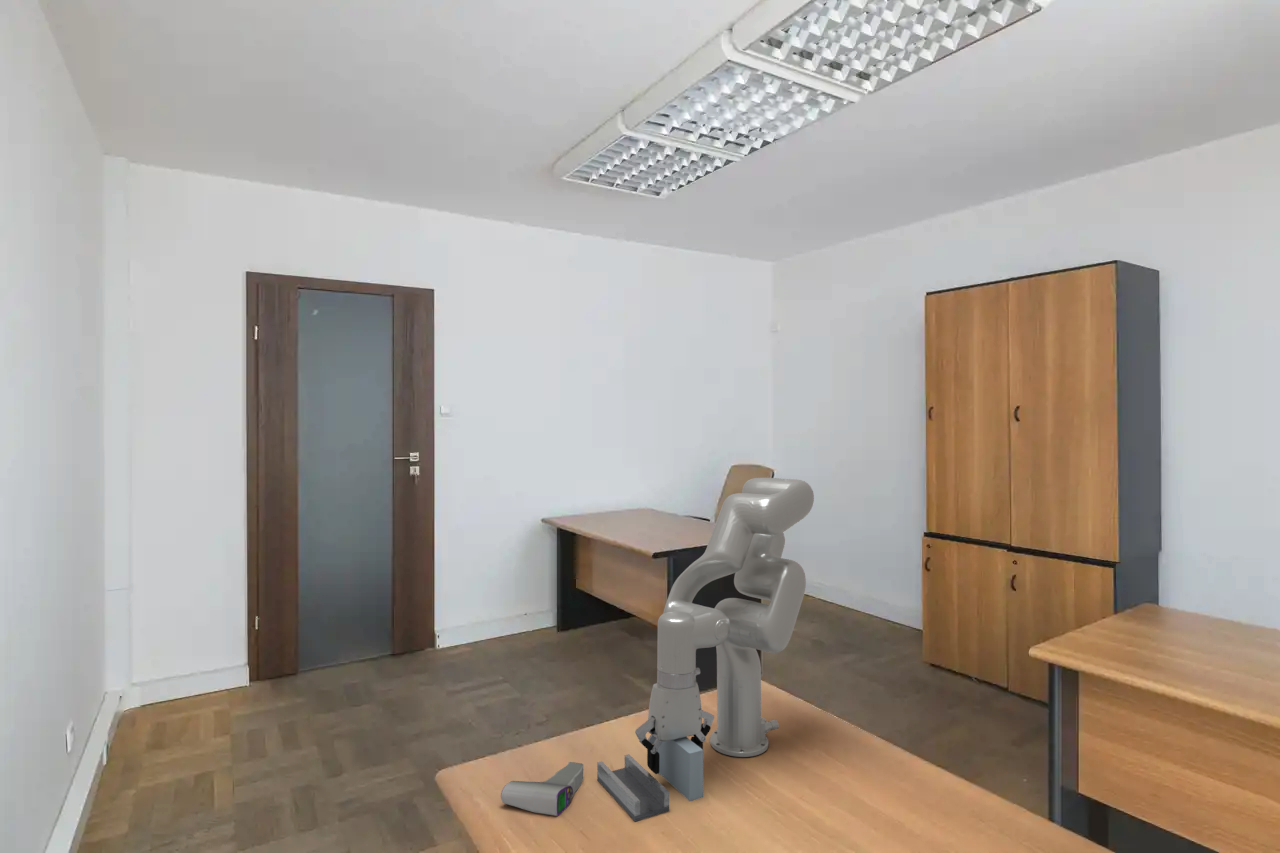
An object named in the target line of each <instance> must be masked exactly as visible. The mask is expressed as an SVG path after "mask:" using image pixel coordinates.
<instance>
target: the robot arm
mask: <svg viewBox="0 0 1280 853" xmlns="http://www.w3.org/2000/svg"><path fill="white" fill-rule="evenodd" d="M741 490H742V491H741V492H736V493H732V494H730V495H728V496H727V497H726V498H725V499H724V501H723V503H722V505H721V509H719V510H720V511H719V514H718V516H717V519H716V522H715V525H714V527H713V529H712V532H711V535H710V538H709V541H708V542H707V546H706V549H705V551H704V553H703V554H702V555H701V556H700V557H699V558H697V559H696V560H695V561H693V562H691V564H690V565H689V566H688V567H686V568H685V569H684V571H683V572H682V573H680V575H679V576H678V577H677V578H676V579H675V581H674V583H673V585H672V586H671V589H670V592H669V594H668V596H667V600H666V602H665V606H664V609H663V613H662V614H661V615H660V616H659V617H658V620H657V643H656V644H657V650H656V651H657V656H656V657H657V659H656V660H657V662H656V663H657V664H656V666H657V667H656V668H657V669H656V670H657V671H656V677H657V678H656V682H655V683H653V685H652V688H651V692H650V698H649V704H648V705H649V706H648V714H647V716H648V717H647V720H646V721H645V722H643V723H642V724H641V725H640V726H638V727H637V728H636V729H635V735H636V737H637V739H638V741H639V743H640V744H641V745H642V746H644V748H646V751H647V752H646V753H647V754H646V757H647V758H646V759H647V760H646V761H647V762H646V765H647V767H648V769H649V770H650V771H651V772H652V773H654V775H660V774H659V758H660V755H659V753H658V752H657V750H658V749H659V747H660V746H661V744H662V742H665V741H670V740H675V739H679V738H683V737H687V738H688V737H690V736H691V738H690V740H691V741H692V742H694V743H695V744H696V745H697V746H699V747H700V748H701V749H703V750H704V742H706V739H707V738H706V737H707V735H708V734H709V732H710V731H711V726H712V725H713V722H714V720H715V715H713V714H712V713H710V712H708V711H705V710H702V700H701V693H700V689H699V688H700V687H699V685H698V684H699V683H698V682H697V678H696V677H697V676H699V675H701V669H700V667H697V665H696V663H697V661H696V660H697V659H696V658H697V655H696V654H697V650H698V649H705V648H714V647H715V648H716V710H717V711H716V724H717V725H716V726H717V727H716V729H715V730H714V731H713V732H712V733H711V734H710V737H709V743H710V745H711V747H712V748H713V749H714V750H715V751H717V752H719V753H720V754H723V755H726V756H731V757H737V758H749V757H755V756H758V755H761V754H763V753H765V751H767V750H768V748H769V738H768V736H766V734H767V733H768V732H770V731H774V730H778V729H779V726H780V723H779V722H778V720H777V719H772V720H768V721H767V719H766V717H762V665H761V660H760V656H759V653H758V651H757V650H759V651H763V652H765V653H769V654H770V653H772V654H777V653H781V652H782V651H784V650H785V649H786V648H787V647H788V646H789V642H790V640H791V638H792V635H793V632H794V628H795V625H796V622H797V619H798V616H799V613H800V609H801V606H802V603H803V600H804V596H805V592H806V584H807V581H806V580H807V579H806V573H805V571H804V570H805V569H804V568H803V567H802V566H801V564H800V563H798V561H796V560H792V559H789V558H782V554H783V552H784V549H785V545H786V538H785V534H784V532H786V531H787V530H789V529H790V528H791V527H793V526H794V525H796V524H797V523H799V522H800V521H802V520H803V519H804V518H805V517H806V516H808V515H809V513H811V510H812V508H813V506H814V502H815V495H814V491H813V488H812V486H811V485H810V484H809V483H808V482H807V481H805V480H802V479H797V478H796V479H794V478H793V479H791V478H778V477H754V478H751V479H748V480H747V481H746V482H744V484H743V487H742V489H741ZM732 574H733V575H734V578H733V584H734V587H735V589H736V590H737V591H738V592H739V593H740V594H742V595H745V596H747V597H751V598H756V599H761V600H764V601H769V604H767V603H766V604H765V603H761V602H757V601H754V600H747V599H743V598H737V597H727V598H724V599H722V600H720V601H719V602H718V603H717V604H716V605H715V607H714V608H713V607H709V606H704V605H700V604H697V603H694V602H693V600H695V599H694V598H695V597H696V596H697V594H698V592H699V591H700V590H701V589H702V588H704V587H705V586H706V585H708V584H709V583H711V582H713V581H716V580H718V579H721V578H724V577H727V576H729V575H732ZM702 722H703V723H702ZM647 733H648V734H650V736H649V737H648V738H647V735H646V734H647ZM656 738H657V739H656ZM655 740H656V741H655ZM653 743H654V744H653Z"/></svg>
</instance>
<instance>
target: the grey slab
mask: <svg viewBox="0 0 1280 853" xmlns="http://www.w3.org/2000/svg"><path fill="white" fill-rule="evenodd" d="M656 739H657V738H656ZM655 741H656V740H655ZM653 744H654V743H653ZM657 752H658V753H659V755H660V758H659V774H658V775H660V776H661V777H662V778H664V780H665V781H667V782H668V783H669V784H670V785H671V786H672V787H673V788H674V789H675V790H677V791H678V792H679V793H680V794H681V795H682V796H684V797H685V799H686V800H688V802H692V801H696V800H698V799H699V800H700V799H702V798H704V748H703V749H701V748H700V747H699V746H697V745H696V744H695V743H694V742H692V741H691V738H688V736H687V737H683V738H679V739H675V740H670V741H665V742H662V744H661V746H660V747H659V749H658V750H657Z"/></svg>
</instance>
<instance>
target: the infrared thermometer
mask: <svg viewBox="0 0 1280 853" xmlns="http://www.w3.org/2000/svg"><path fill="white" fill-rule="evenodd" d="M583 780H584V764H583V763H581V762H574V761H569V762H567V764H566V765H565V766H564V767H563V768H561V769H560V770H558V771H557V772H555V773H554V774H553V775H552V776H550V777H549V778H548V779H546V780H545V781H525V780H524V781H523V780H522V781H521V780H520V781H519V780H511V781H508V783H506V784H505V785H504V787H503V788H502V790H501V793H500V799H501V802H502V803H503V804H505V805H508V806H510V807H511V806H512V807H515V808H518V809H522V810H524V811H528V812H532V813H534V814H541V815H546V816H547V815H548V816H553V817H554V816H555V817H558V816H560V815H562V813H563V812H564V811H565V810H566V809H567V808H568V807H569V805H570V804H571V802H572V798H574V794H575V793H576V791H577V790H579V788H580V787H581V785H582V783H583Z"/></svg>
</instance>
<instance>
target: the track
mask: <svg viewBox="0 0 1280 853" xmlns="http://www.w3.org/2000/svg"><path fill="white" fill-rule="evenodd" d="M596 765H597V766H596V767H597V776H596V778H597V781H598V783H599V784H600V785H601V786H602V787H603V788H604V789H605V790H606V791H607V793H609V795H610V796H611V797H612V798H613V799H614V800H615V802H616V803H618V805H620V807H621V808H622V809H623V810H624V811H625V812H626V814H627V815H628V816H629V817H630V818H631V819H632V820H633V821H634V822H638V821H642V820H645V819H649V818H651V817H655V816H658V815H661V814H664V813H668V812H670V791H669V790H668V789H667V788H666V787H665V786H664V785H663V784H662V783H661V782H659V781H658V780H657V779H656V778H655V776H653V775H652V774H651V773H649V772H648V770H646V768H644V766H643V765H642V764H640V763H639V762H638V761H637V760H636V759H635V758H633V757H632V756H631V755H630V754H626V755H624V767H622V768H619V769H615V770H611V769H610V768H609V767H608V766H607V764H606V763H604V762H603V761H602V760H601V761H597V762H596Z"/></svg>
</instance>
